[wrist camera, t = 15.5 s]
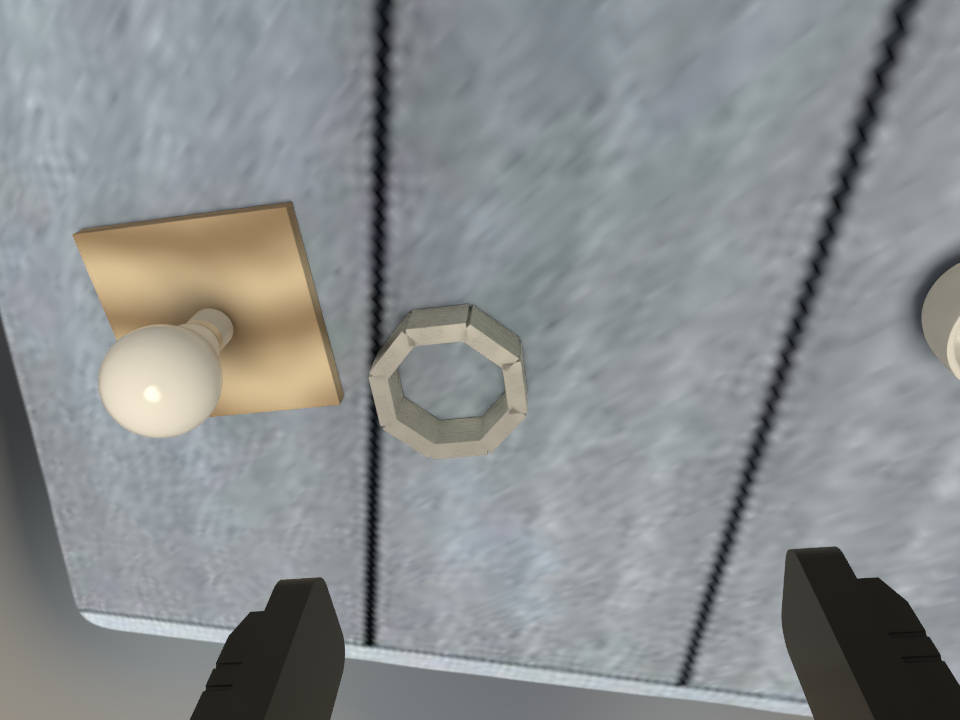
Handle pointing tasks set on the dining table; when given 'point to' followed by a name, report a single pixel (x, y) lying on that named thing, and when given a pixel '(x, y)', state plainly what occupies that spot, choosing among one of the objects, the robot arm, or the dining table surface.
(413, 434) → the collar
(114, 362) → the lightbulb
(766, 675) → the dining table surface
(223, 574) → the dining table surface
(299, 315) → the oak board
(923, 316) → the teacup
